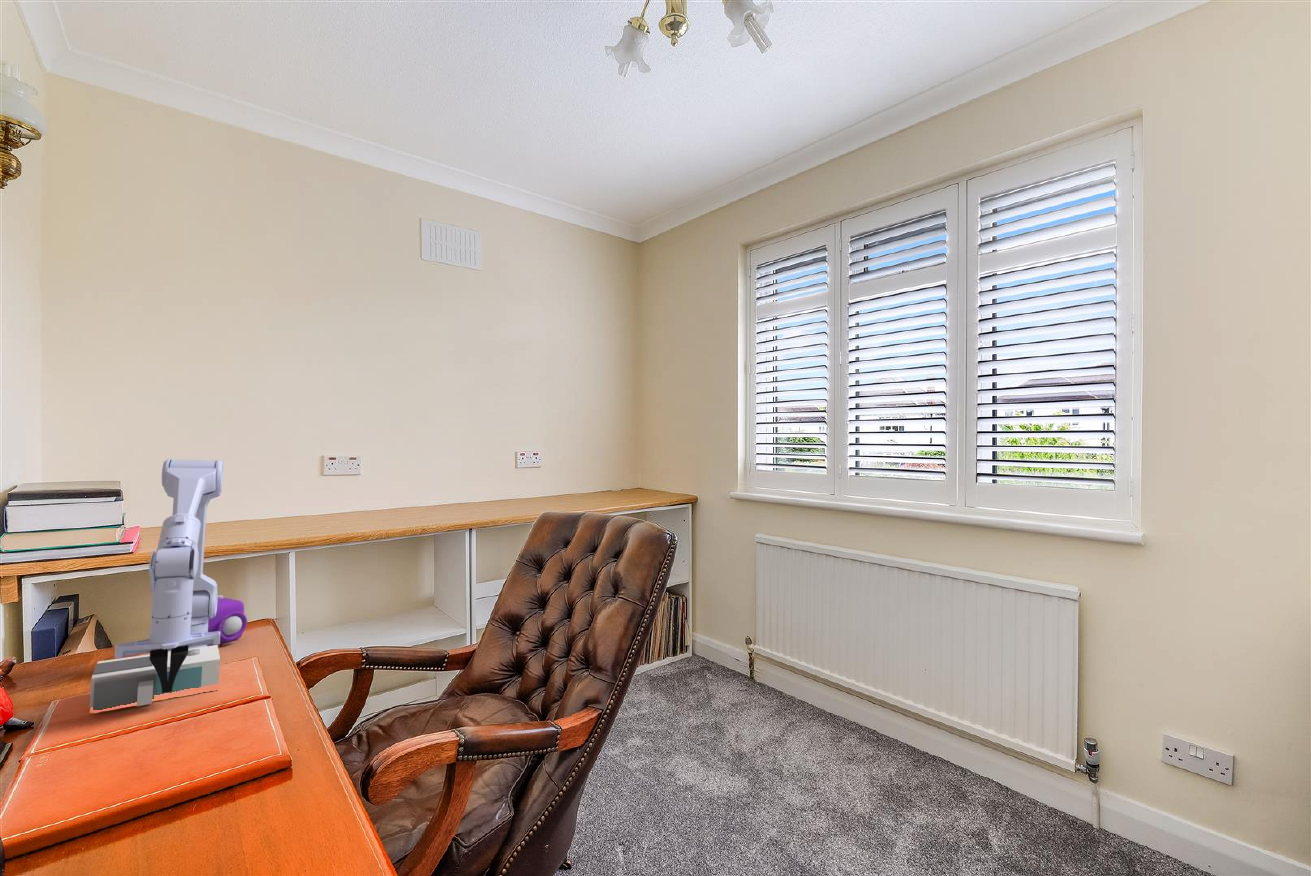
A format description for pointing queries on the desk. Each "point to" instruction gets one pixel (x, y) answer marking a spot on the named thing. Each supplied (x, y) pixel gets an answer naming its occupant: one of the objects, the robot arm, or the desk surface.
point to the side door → (124, 691)
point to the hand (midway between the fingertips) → (167, 690)
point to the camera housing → (192, 673)
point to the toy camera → (228, 619)
